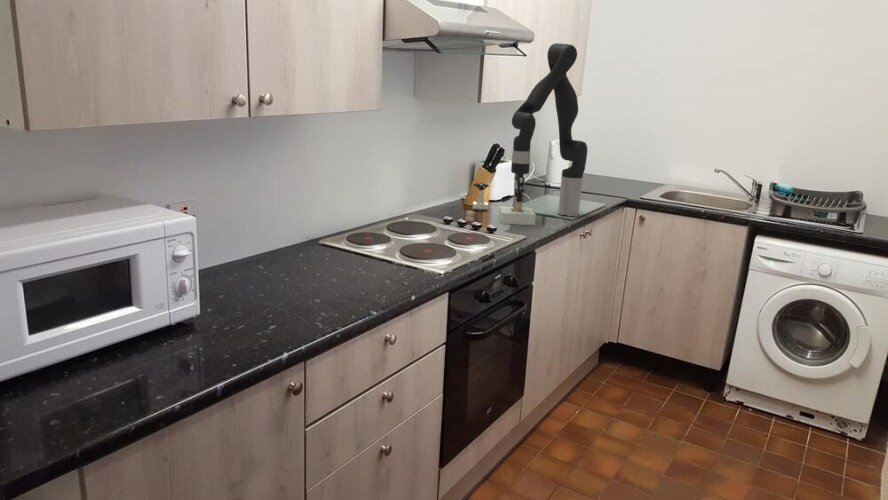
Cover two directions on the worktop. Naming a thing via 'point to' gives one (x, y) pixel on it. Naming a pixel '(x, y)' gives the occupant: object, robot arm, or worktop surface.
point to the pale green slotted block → (517, 216)
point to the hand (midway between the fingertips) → (518, 199)
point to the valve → (480, 198)
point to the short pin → (469, 215)
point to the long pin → (517, 205)
